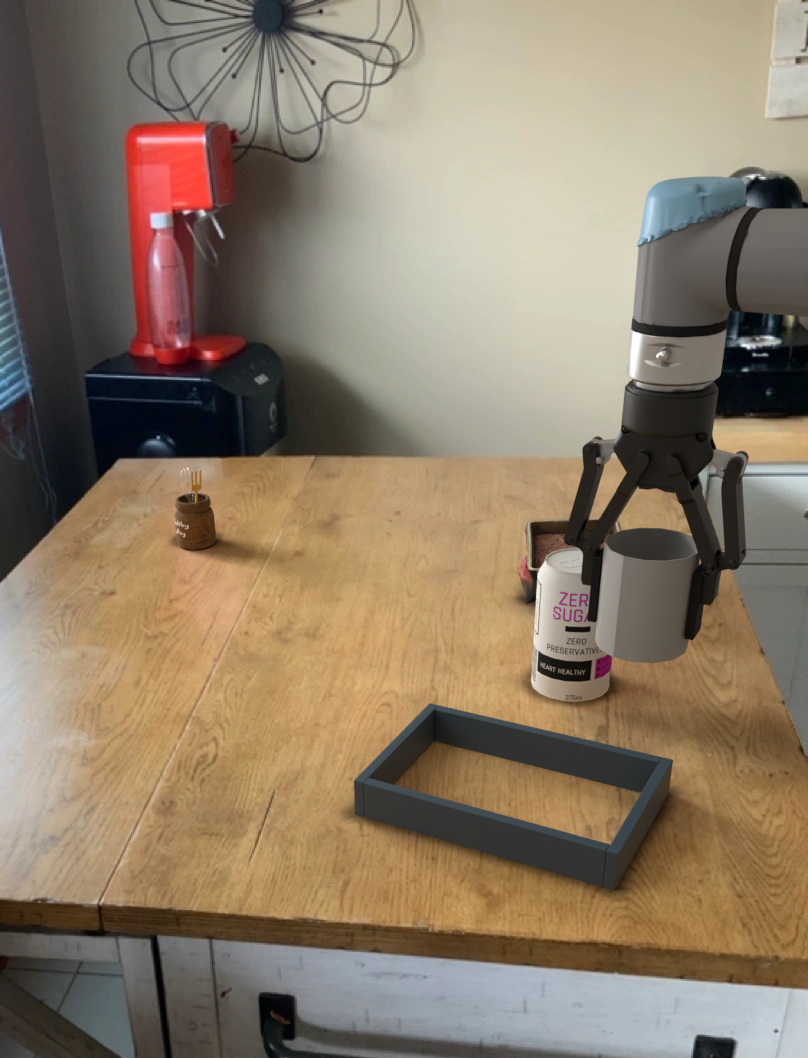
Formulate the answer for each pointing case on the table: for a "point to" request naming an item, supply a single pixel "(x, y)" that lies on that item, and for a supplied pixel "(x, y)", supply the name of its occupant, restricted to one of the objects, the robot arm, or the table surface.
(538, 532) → the baking dish
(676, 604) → the cup
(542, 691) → the supplement can
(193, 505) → the utensil holder
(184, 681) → the table surface
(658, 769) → the dark grey open frame
